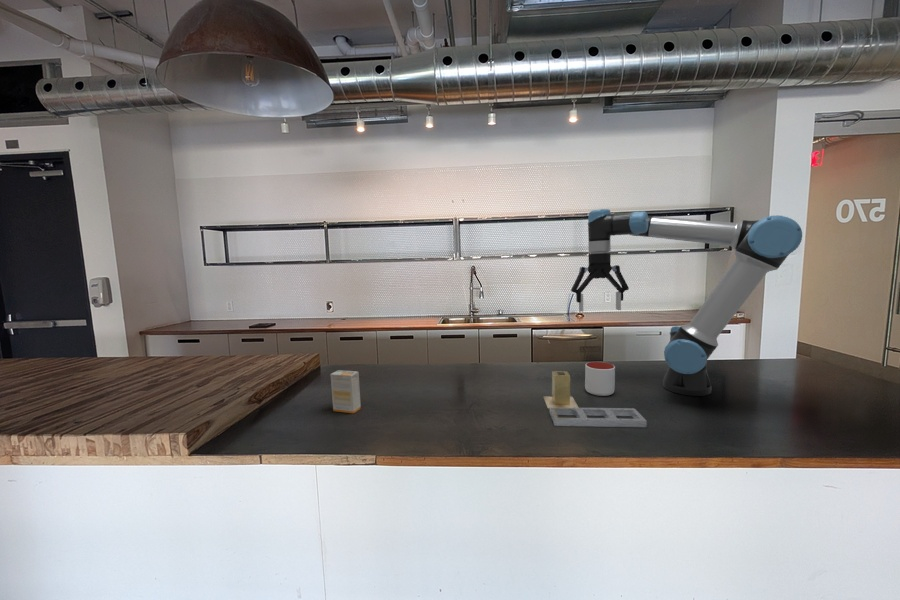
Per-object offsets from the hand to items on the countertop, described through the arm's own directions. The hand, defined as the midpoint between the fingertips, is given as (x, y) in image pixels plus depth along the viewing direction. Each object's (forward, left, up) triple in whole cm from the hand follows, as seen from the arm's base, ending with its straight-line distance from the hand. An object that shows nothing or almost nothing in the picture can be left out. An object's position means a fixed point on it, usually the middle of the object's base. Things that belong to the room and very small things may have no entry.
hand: (599, 310), depth 141 cm
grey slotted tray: (+9, +30, -29) cm, 43 cm away
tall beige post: (+17, +17, -29) cm, 38 cm away
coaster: (+17, +17, -29) cm, 38 cm away
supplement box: (+89, +25, -29) cm, 97 cm away
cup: (+1, +6, -29) cm, 30 cm away
